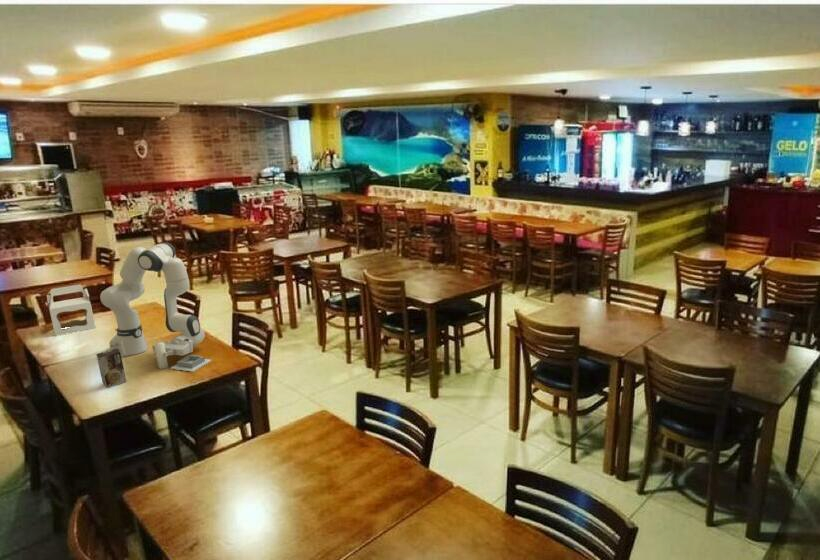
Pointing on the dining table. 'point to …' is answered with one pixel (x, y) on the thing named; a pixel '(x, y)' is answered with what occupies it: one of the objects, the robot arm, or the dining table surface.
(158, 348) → the peg
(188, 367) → the socket
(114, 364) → the coffee box
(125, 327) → the robot arm
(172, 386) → the dining table surface
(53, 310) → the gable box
